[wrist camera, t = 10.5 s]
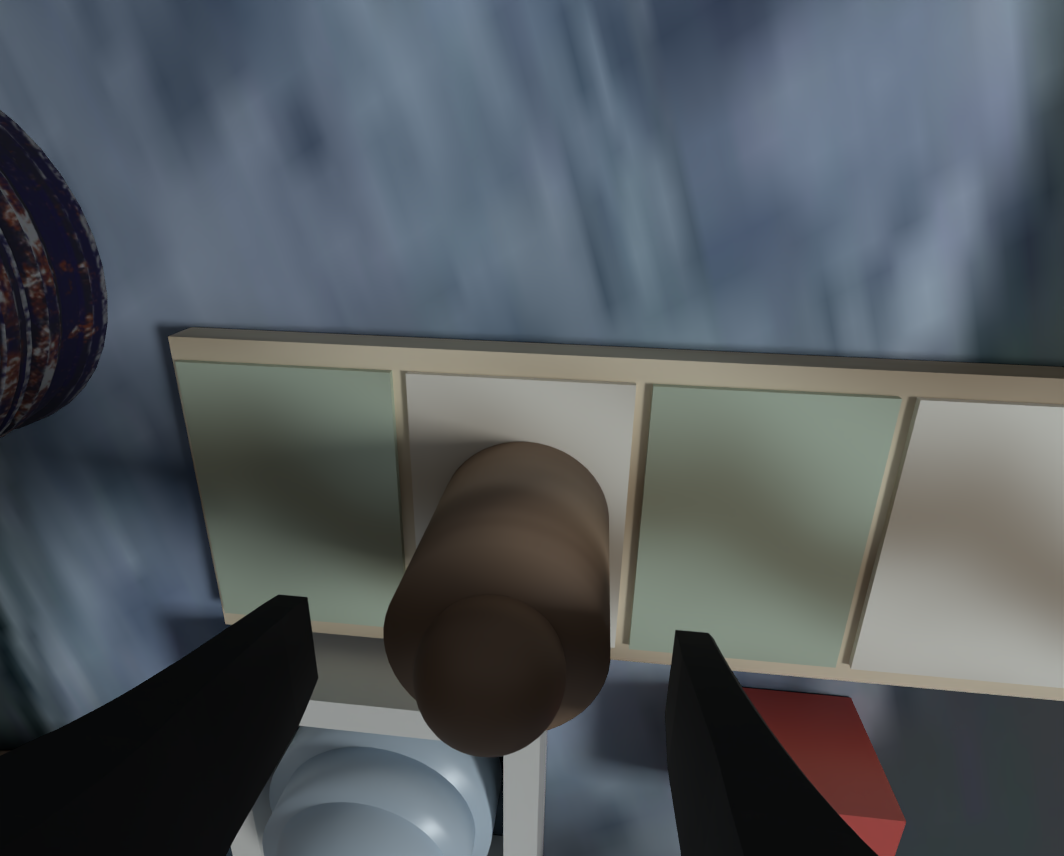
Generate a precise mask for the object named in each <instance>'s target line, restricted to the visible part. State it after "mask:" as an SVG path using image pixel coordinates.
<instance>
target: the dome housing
mask: <svg viewBox="0 0 1064 856" xmlns="http://www.w3.org/2000/svg"><path fill="white" fill-rule="evenodd" d="M312 634H313V641H314V649H315V656H316V664H317V671H318V680H317V683H316V685H315V688H314V690H313V693H312V696H311V698H310V701H309V703H308V705H307V708H306V710H305V712H304V715H303V717H302V719H301V722H300V724H299V726H307V727H316V728H326V729H335V730H345V731H354V732H363V733H373V734H382V735H392V736H401V737H411V738H420V739H429V740H439V741H441V740H440V739H439V738H438V737H437V736H436V735H435V734H434V733H433V732H432V730H431V729H430V728H429V727H428V725H427V724H426V722H425V721H424V719H423V717H422V715H421V713H420V711H419V709H418V706H417V702H416V700H415V699H414V698H413V697H412V696H411V695H410V694H409V693H408V692H407V691H406V690H405V688H404V687H403V686H402V685H401V683H400V682H399V680H398V679H397V677H396V676H395V674H394V672H393V670H392V668H391V666H390V664H389V661H388V658H387V655H386V652H385V646H384V640H383V639H382V638H372V637H361V636H350V635H339V634H328V633H317V632H312ZM295 734H296V732H295ZM295 734H294V735H293V737H292V739H291V741H292V740H293V738H294V736H295ZM291 741H290V743H291ZM290 743H289V744H288V746H287V748H286V750H287V749H288V747H289V745H290ZM286 750H285V752H286ZM285 752H284V753H283V755H282V757H281V759H280V760H279V762H278V764H277V766H276V767H275V769H274V771H273V773H272V774H271V776H270V778H269V780H268V781H267V783H266V785H265V787H264V788H263V790H262V792H261V794H260V795H259V797H258V799H257V800H256V802H255V804H254V806H253V807H252V809H251V811H250V813H249V814H248V816H247V818H246V820H245V821H244V823H243V825H242V827H241V828H240V830H239V832H238V834H237V835H236V837H235V839H234V841H233V843H232V845H231V850H232V854H233V856H264V853H263V845H262V841H263V833H264V829H265V826H266V824H267V822H268V820H269V818H270V816H271V814H272V812H271V808H270V801H269V790H270V784H271V780H272V777H273V775H274V773H275V771H276V769H277V767H278V765H279V763H280V761H281V760H282V758H283V756H284V754H285ZM546 752H547V730H546V731H544V733H543V734H542V735H541V736H540V737H539V738H537V739H536V740H535V741H533V742H532V743H531V744H529V745H528V746H527V747H525V748H523V749H521V750H519V751H516V752H514V753H511V754H508V755H505V756H503V836H497V835H492V840H491V845H490V848H489V852H488V854H487V856H543V838H544V809H545V780H546Z"/></svg>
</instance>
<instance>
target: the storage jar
mask: <svg viewBox="0 0 1064 856" xmlns="http://www.w3.org/2000/svg"><path fill="white" fill-rule="evenodd" d="M106 328H107V291H106V285H105V279H104V272H103V266H102V263H101V260H100V256H99V253H98V250H97V246H96V243H95V240H94V237H93V234H92V232H91V230H90V228H89V225H88V223H87V221H86V219H85V216H84V214H83V212H82V210H81V207H80V206H79V204H78V202H77V201H76V199H75V197H74V196H73V194H72V192H71V191H70V189H69V187H68V185H67V184H66V182H65V180H64V179H63V177H62V176H61V174H60V173H59V172H58V171H57V169H56V168H55V167H54V165H53V164H52V163H51V161H50V160H49V159H48V157H47V156H46V155H45V153H44V152H43V151H42V150H41V148H40V147H39V146H38V145H37V144H36V143H35V142H34V141H33V140H32V139H31V138H30V137H29V136H28V135H27V134H26V133H25V132H24V131H23V130H22V129H21V128H20V127H19V126H18V124H17V123H15V122H14V121H13V120H12V119H11V118H9V117H8V116H7V115H6V114H4V113H3V112H2V111H1V110H0V438H1V437H3V436H5V435H6V434H8V433H9V432H11V431H12V430H14V429H18V428H21V427H23V426H26V425H28V424H31V423H33V422H36V421H38V420H40V419H43V418H45V417H47V416H49V415H51V414H54V413H55V412H57V411H58V410H59V409H61V408H62V407H64V406H65V405H67V404H68V403H70V402H71V401H72V400H73V399H74V398H75V397H76V396H77V395H78V394H79V392H80V391H81V390H82V389H83V388H84V387H85V386H86V384H87V382H88V381H89V379H90V377H91V376H92V374H93V372H94V371H95V369H96V367H97V364H98V361H99V358H100V355H101V353H102V350H103V347H104V341H105V335H106Z"/></svg>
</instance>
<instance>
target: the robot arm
mask: <svg viewBox="0 0 1064 856" xmlns="http://www.w3.org/2000/svg"><path fill="white" fill-rule="evenodd" d="M317 680H318V671H317V664H316V656H315V649H314V641H313V634H312V626H311V619H310V612H309V604H308V597H301V596H290V595H279V594H278V595H277V596H275V597H273V598H272V599H270V600H269V601H267V602H265V603H264V604H262V605H261V606H259V607H258V608H256V609H255V610H253V611H252V612H250V613H249V614H247V615H246V616H244V617H243V618H242V619H240V620H239V621H237V622H236V623H234V624H233V625H231V626H230V627H228V628H227V629H225V630H224V631H222V632H221V633H219V634H218V635H216V636H215V637H213V638H212V639H210V640H209V641H207V642H206V643H204V644H203V645H201V646H200V647H198V648H197V649H195V650H194V651H192V652H191V653H189V654H188V655H186V656H185V657H183V658H182V659H180V660H179V661H177V662H175V663H174V664H172V665H170V666H169V667H167V668H166V669H164V670H162V671H161V672H159V673H157V674H156V675H154V676H153V677H151V678H149V679H148V680H146V681H145V682H143V683H141V684H140V685H138V686H136V687H135V688H133V689H132V690H130V691H128V692H126V693H125V694H123V695H121V696H119V697H118V698H116V699H114V700H112V701H110V702H109V703H107V704H105V705H103V706H101V707H100V708H98V709H96V710H94V711H92V712H90V713H88V714H86V715H84V716H82V717H80V718H79V719H77V720H75V721H73V722H71V723H69V724H67V725H65V726H63V727H61V728H59V729H57V730H55V731H53V732H50V733H48V734H46V735H44V736H42V737H40V738H37V739H35V740H33V741H31V742H29V743H26V744H24V745H22V746H20V747H18V748H16V749H13V750H11V751H9V752H7V753H5V754H3V755H0V856H226V854H227V852H228V850H229V848H230V846H231V845H232V843H233V841H234V839H235V837H236V835H237V834H238V832H239V830H240V828H241V827H242V825H243V823H244V821H245V820H246V818H247V816H248V814H249V813H250V811H251V809H252V807H253V806H254V804H255V802H256V800H257V799H258V797H259V795H260V794H261V792H262V790H263V788H264V787H265V785H266V783H267V781H268V780H269V778H270V776H271V774H272V773H273V771H274V769H275V767H276V766H277V764H278V762H279V760H280V759H281V757H282V755H283V753H284V752H285V750H286V748H287V746H288V744H289V743H290V741H291V739H292V737H293V735H294V734H295V732H296V730H297V728H298V726H299V724H300V722H301V719H302V717H303V715H304V712H305V710H306V708H307V705H308V703H309V701H310V698H311V696H312V693H313V690H314V688H315V685H316V683H317ZM665 723H666V746H667V764H668V773H669V780H670V786H671V793H672V799H673V806H674V812H675V818H676V825H677V831H678V837H679V844H680V850H681V856H878V855H877V854H876V853H875V852H874V851H873V850H872V849H871V848H870V847H869V846H868V845H867V844H866V843H865V842H864V841H863V840H862V839H861V838H860V837H859V836H858V835H857V834H856V832H855V831H854V830H853V829H852V828H851V827H850V826H849V825H848V824H847V823H846V822H845V821H844V820H843V819H842V818H841V816H840V815H839V814H838V813H837V812H836V811H835V810H834V809H833V807H832V806H831V805H830V804H829V803H828V802H827V801H826V799H825V798H824V797H823V796H822V795H821V794H820V793H819V791H818V790H817V789H816V788H815V787H814V785H813V784H812V783H811V782H810V781H809V779H808V778H807V777H806V776H805V774H804V773H803V772H802V771H801V769H800V768H799V767H798V766H797V764H796V763H795V762H794V760H793V759H792V758H791V756H790V755H789V754H788V753H787V751H786V750H785V749H784V747H783V746H782V745H781V743H780V742H779V741H778V739H777V738H776V736H775V735H774V734H773V732H772V731H771V730H770V728H769V727H768V725H767V724H766V722H765V721H764V719H763V718H762V716H761V715H760V714H759V712H758V711H757V709H756V708H755V706H754V705H753V703H752V702H751V700H750V699H749V697H748V696H747V694H746V693H745V691H744V690H743V688H742V686H741V685H740V683H739V682H738V680H737V678H736V677H735V675H734V673H733V672H732V670H731V668H730V667H729V665H728V663H727V662H726V660H725V658H724V656H723V655H722V653H721V651H720V649H719V647H718V646H717V644H716V642H715V640H714V638H713V637H712V636H711V635H710V634H709V633H705V632H694V631H683V630H675V637H674V645H673V653H672V661H671V670H670V678H669V686H668V694H667V702H666V710H665Z"/></svg>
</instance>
